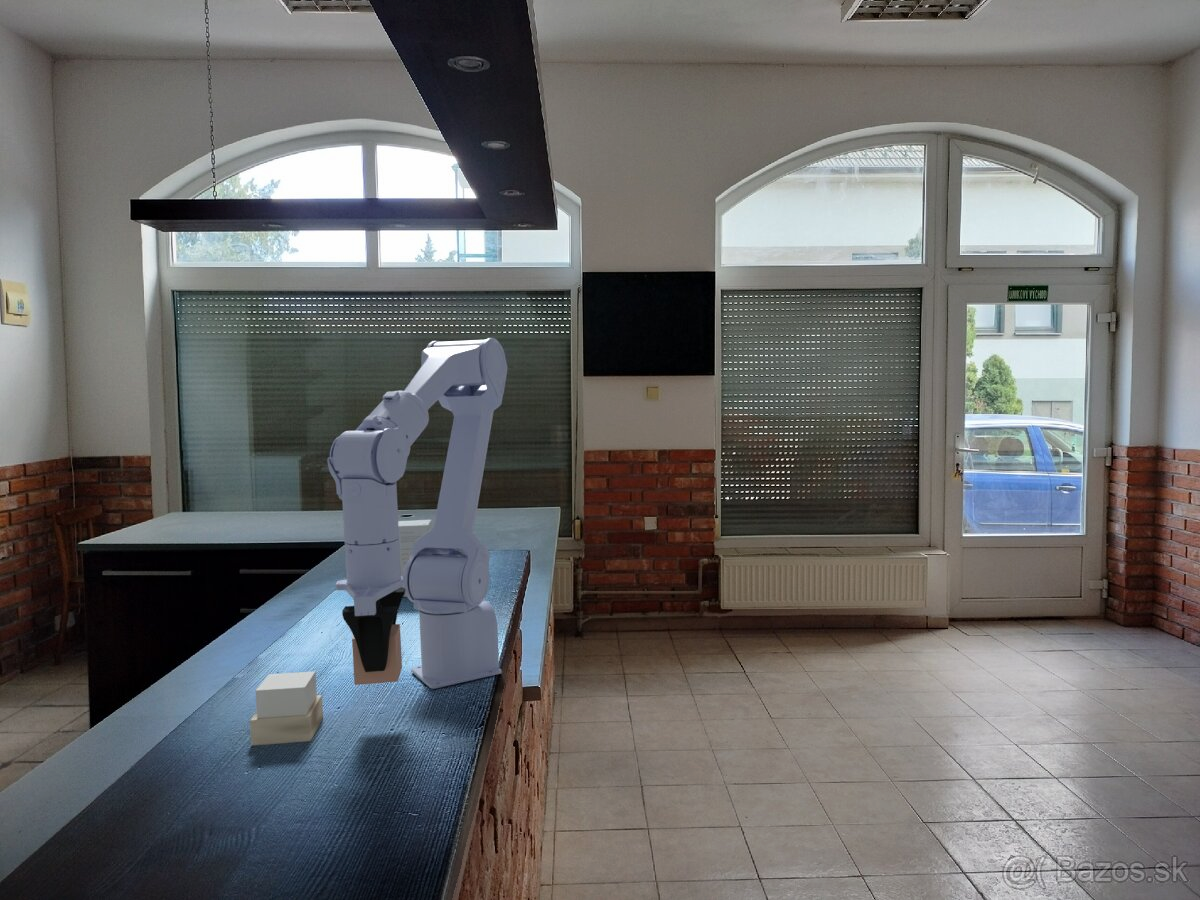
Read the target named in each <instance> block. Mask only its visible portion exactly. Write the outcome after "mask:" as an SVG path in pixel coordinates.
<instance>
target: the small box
mask: <svg viewBox="0 0 1200 900" xmlns="http://www.w3.org/2000/svg"><path fill="white" fill-rule="evenodd" d="M398 526H399V545H400V567H401V576H402V577H403V572H404V569H405V566H406V564H407V562H408V561H409V559H410V556H411V554H412V551H413V546H414V542H415V541H416V540H418V539H419V538H420V537H422V536H423V535H425V534H426V533H427V532H429V531H430V530H431V529H432V528H433V519H417V520H398ZM402 587H403V586H402ZM403 598H407V596H406V594H404V596H403Z"/></svg>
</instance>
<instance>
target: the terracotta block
mask: <svg viewBox="0 0 1200 900" xmlns="http://www.w3.org/2000/svg"><path fill="white" fill-rule="evenodd" d="M401 637H402V636H401V624H400V623H398V624H397V623H396V624H395V625H392V627H391V632H390V639H389V649H388V658H387V664H386V668H385V670H384V671H375V672H365V670H364V667H363V664H362V661H361V658H360V654H359V650H358V647H357V643H356V640H355V638H354V636H352V637H351V643H352V644H351V645H352V662H353V664H352V665H353V679H354V680H353V681H354V682H353V683H354V685H356V686H357V685H359V686H360V685H366V684H367V685H370V684H371V685H372V684H382V683H385V684H386V683H397V682H398V681H399V678H400V675H401V673H402V668H403V661H402V660H403V659H402V643H401V642H402V640H401V639H402V638H401Z"/></svg>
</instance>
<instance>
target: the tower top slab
mask: <svg viewBox="0 0 1200 900" xmlns="http://www.w3.org/2000/svg"><path fill="white" fill-rule="evenodd" d="M316 674H317V673H316V671H302V672H301V671H300V672H286V673H270V674H269V673H268V675H267V676H266V677H265V678H264V679H263V681H262V682H261V683H260V684H259V685H258V686H257V688H256V689H255V705H256V712H257V718H270V717H284V716H299V715H307V713H308V711H309V710H310V708H311V706H312V705H313V703H314V701H315V700H316V698H317V695H318V693H317V677H316V676H317V675H316Z"/></svg>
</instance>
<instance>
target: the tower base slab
mask: <svg viewBox="0 0 1200 900" xmlns="http://www.w3.org/2000/svg"><path fill="white" fill-rule="evenodd" d="M323 706H324V705H323V695H322V694H317V698H316V700H315V701H314V703H313V705H312V706H311V708H310V710H309V711H308V713H307V715H299V716H284V717H270V718H257V711H255V713H254V714H253V716H252V717H251V718H250V720H249V725H250V740H251V741H250V742H251V746H260V745H264V746H265V745H275V744H277V745H278V744H286V743H287V744H288V743H300V742H311V741H312V739H313V738H314V736H315V734H316V733H317V730H318V729H319V727H320V725H321V723H322V721H323V720H324V711H323V710H324V709H323Z"/></svg>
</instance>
